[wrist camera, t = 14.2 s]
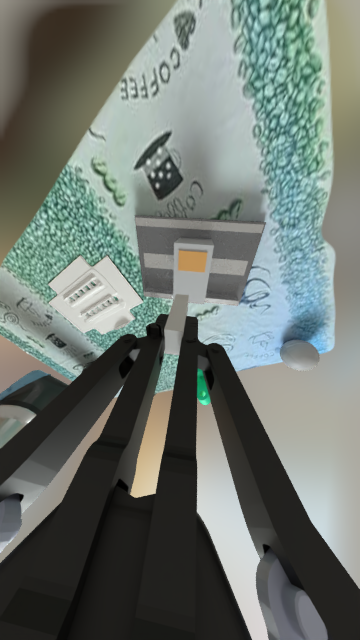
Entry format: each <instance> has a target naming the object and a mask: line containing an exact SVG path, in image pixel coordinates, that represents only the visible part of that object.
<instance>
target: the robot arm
mask: <svg viewBox="0 0 360 640" xmlns="http://www.w3.org/2000/svg"><path fill="white" fill-rule="evenodd" d="M188 300H189V295H181V294H176V295H175V298H174V301H173V304H172V307H171V310H170V313H169V315H168V314H160V315H159V316H158V318H157V320H156V322H155V323H151V324H149V325H147V326H146V331H147V336H145V337H141V338H136V336H135V335H133V334H126V335H123V336H122V337H120V338H119V339H118V340H117V341H116V342H115V343H114V344H113V345H112V346H111V347H110V348H108V349H107V350H106V351H105V352H104V353H103V354H102V355H101V356H100V357H99V358H98V359H97V360H95V361H94V362H90V363H88V364H87V365H86V366H85V367H84V369H83V371H82V373H81V374H80V375H79V376H78V377H77V378H76V379H75V380H74V381H73V382H72V383H71V384H70V385H67V384H66V383H63V382H62V381H60V380H58V379H56V378H54V377H52V376H51V374H47V373H45V372H43V371H41V370H35V371H32V372H30V373H28V374H27V375H25V376H24V377H22V378H21V379H19V380H18V381H17V382H15V383H14V384H12V385H11V386H10V387H9V388H7V389H6V390H5V391H3V392H2V393H1V394H0V553H1V552H2V550H3V549H4V548H5V547H6V545H7V544H9V543H10V542H11V541H12V540H13V539H14V538H15V536H16V535H17V533H18V531H19V529H20V527H21V522H22V520H21V514H22V513H23V512H24V511H25V510H26V509H27V508H28V507H29V506H30V505H31V504H32V503H33V502H34V501H35V500H36V498H37V497H38V496H39V495H40V494H41V493H42V491H44V489H45V488H46V487H47V486H48V485H49V483H50V482H51V481H52V480H53V478H54V477H55V476H56V474H57V473H58V472H59V471H60V469H61V468H62V466H63V465H64V464H65V463H66V461H67V460H68V458H69V457H70V456H71V455H72V453H73V452H74V451H75V449H76V448H77V446H78V445H79V444H80V442H81V441H82V439H83V438H84V437H85V436H86V434H87V433H88V432H89V430H90V429H91V427H92V426H93V425H94V424H95V422H96V421H97V420H98V418H99V417H100V416H101V414H102V413H103V412H104V410H105V409H106V407H107V406H108V405H109V403H110V402H111V401H112V399H113V398H114V397H115V395H116V394H117V393H118V391H119V390H120V389H121V387H122V386H123V385H124V386H123V388H122V390H121V392H120V394H119V396H118V398H117V401H116V403H115V405H114V407H113V409H112V412H111V414H110V416H109V418H108V420H107V422H106V424H105V427H104V429H103V431H102V433H101V435H100V437H99V438H98V440H97V441H95V442H94V443H93V444H92V445H91V446H90V448H89V449H88V450H87V452H86V454H85V456H84V458H83V460H82V462H81V464H80V466H79V468H78V470H77V472H76V474H75V476H74V478H73V480H72V482H71V484H70V486H69V488H68V490H67V492H66V494H65V496H64V498H63V500H62V502H61V503H60V504H59V505H58V506H57V507H56V508H55V509H54V510H53V511H52V512H51V513H50V514H49V515H48V516H47V517H46V518H45V519H44V520H43V521H42V522H41V523H40V524H39V525H38V526H37V527H36V528H35V529H34V530H33V531H32V532H31V533H30V534H29V535H28V536H27V537H26V538H25V539H24V540H23V541H22V542H21V543H20V544H19V545H18V546H17V547H16V548H15V549H14V550H13V551H12V552H11V553H10V554H9V555H8V556H7V557H6V558H5V559H4V560H3V561H2V562H1V563H0V640H252V639H251V636H250V633H249V631H248V629H247V626H246V623H245V621H244V618H243V616H242V613H241V611H240V609H239V606H238V604H237V601H236V599H235V596H234V594H233V591H232V589H231V586H230V584H229V581H228V579H227V576H226V574H225V571H224V569H223V566H222V564H221V561H220V559H219V556H218V554H217V551H216V549H215V546H214V544H213V541H212V539H211V536H210V534H209V532H208V529H207V528H206V526H205V524H204V522H203V521H202V519H201V517H200V516H199V514H198V513H197V460H196V426H197V425H196V423H197V377H198V369H201V370H202V372H203V376H204V379H205V383H206V386H207V390H208V393H209V397H210V400H211V404H212V407H213V411H214V414H215V418H216V421H217V425H218V428H219V432H220V435H221V439H222V442H223V446H224V449H225V453H226V456H227V460H228V463H229V467H230V471H231V474H232V477H233V481H234V485H235V488H236V491H237V495H238V499H239V502H240V505H241V509H242V512H243V515H244V518H245V522H246V524H247V528H248V530H249V533H250V535H251V538H252V541H253V543H254V546H255V548H256V551H257V553H258V555H259V557H260V559H261V560H260V562H259V564H258V567H257V572H256V589H257V595H258V600H259V603H260V607H261V610H262V613H263V617H264V620H265V623H266V627H267V632H268V638H269V640H360V589H359V588H358V586H357V585H356V584H355V582H354V581H353V579H352V578H351V577H350V575H349V574H348V573H347V571H346V570H345V568H344V567H343V566H342V564H341V563H340V561H339V560H338V559H337V557H336V556H335V554H334V553H333V552H332V550H331V549H330V547H329V546H328V545H327V543H326V542H325V541H324V539H323V538H322V536H321V535H320V534H319V532H318V531H317V529H316V528H315V527H314V525H313V524H312V522H311V521H310V519H309V517H308V515H307V513H306V511H305V509H304V507H303V505H302V503H301V501H300V499H299V497H298V495H297V493H296V491H295V489H294V487H293V485H292V483H291V481H290V479H289V477H288V475H287V473H286V471H285V469H284V467H283V465H282V463H281V461H280V459H279V457H278V455H277V453H276V451H275V449H274V447H273V445H272V443H271V441H270V439H269V437H268V435H267V433H266V431H265V429H264V427H263V425H262V423H261V421H260V419H259V417H258V415H257V413H256V411H255V409H254V407H253V405H252V403H251V401H250V399H249V397H248V395H247V393H246V391H245V389H244V387H243V385H242V383H241V382H240V379H239V377H238V376H237V373H236V371H235V369H234V367H233V365H232V363H231V361H230V359H229V357H228V355H227V353H226V351H225V349H224V348H223V347H222V346H221V345H220V344H217V343H211V344H209V345H205V344H203V343H201V342H200V341H199V340H198V319H197V318H196V317H190V316H187V311H188ZM164 351H165V354H174V355H179V359H178V365H177V371H176V378H175V384H174V390H173V397H172V402H171V409H170V415H169V421H168V428H167V434H166V440H165V446H164V451H163V455H162V459H161V465H160V471H159V477H158V483H157V489H156V494H152V495H147V496H143V497H138V498H134V497H133V496H131V495H130V492H131V488H132V484H133V480H134V476H135V471H136V464H137V458H138V453H139V450H140V445H141V442H142V438H143V434H144V431H145V427H146V422H147V419H148V416H149V412H150V408H151V404H152V400H153V397H154V393H155V389H156V385H157V381H158V378H159V374H160V370H161V366H162V362H163V359H164Z"/></svg>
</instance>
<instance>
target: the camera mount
mask: <svg viewBox="0 0 360 640" xmlns="http://www.w3.org/2000/svg"><path fill="white" fill-rule="evenodd" d="M204 395H205V396H204ZM203 396H204V397H203ZM197 398H198V399H199V401H200V402H201V404H203V405H208V404H209V403H210V402H211V400H210V397H209V393H208V390H207V386H206V383H205V379H204V376H203V372H202V370H201V369H198V377H197Z"/></svg>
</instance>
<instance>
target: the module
mask: <svg viewBox="0 0 360 640" xmlns="http://www.w3.org/2000/svg"><path fill="white" fill-rule="evenodd" d="M213 248H214V244H213V242H212V239H202V238H187V237H180V238H179V239H178V240H177V241H176V242H174V276H173V301H174V298H175V295H176V294H181V295H189V300H188V303H196V304H204V303H205V297H206V291H207V285H208V279H209V273H210V267H211V260H212V254H213Z"/></svg>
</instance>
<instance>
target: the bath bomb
mask: <svg viewBox="0 0 360 640" xmlns="http://www.w3.org/2000/svg"><path fill="white" fill-rule="evenodd" d="M280 356H281V359H282V360H283V362H284V363H285V364H286V365H287V366H289V367H290V368H292V369H295V370H300V371H305V370H310V369H312V368H314V367H315V366H316V365H317V364H318V362H319V353H318V351H317V349H316V348H315V347H314V346H313V345H312V344H310V343H309V342H307V341H304V340H296V339H295V340H290V341H288V342H286V343H284V344H283V346H282V347H281V349H280Z"/></svg>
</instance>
